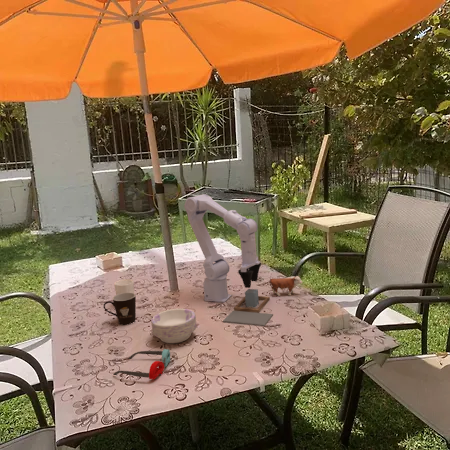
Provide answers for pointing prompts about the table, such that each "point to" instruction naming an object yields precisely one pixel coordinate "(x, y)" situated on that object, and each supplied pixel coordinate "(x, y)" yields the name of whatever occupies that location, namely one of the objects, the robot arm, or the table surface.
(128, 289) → the white cup
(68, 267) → the table surface
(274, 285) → the bull figurine
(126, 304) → the coffee mug
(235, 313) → the rubber mat
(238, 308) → the pocket frame
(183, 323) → the white round bowl
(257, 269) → the robot arm
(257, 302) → the blue block
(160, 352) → the novelty glasses
